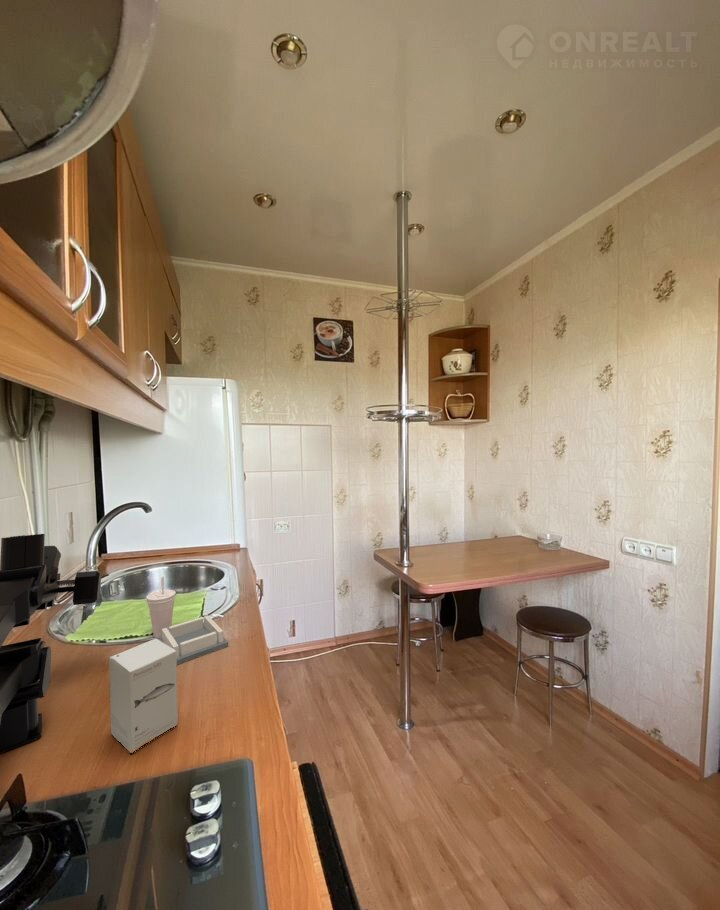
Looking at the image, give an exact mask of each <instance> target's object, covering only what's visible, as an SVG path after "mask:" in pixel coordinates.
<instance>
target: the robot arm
mask: <svg viewBox="0 0 720 910" xmlns="http://www.w3.org/2000/svg"><path fill="white" fill-rule="evenodd" d="M45 537H46V534H45V533H37V534H36V533H35V534H27V535H25V534H24V535H23V534H22V535H14V536H9V537H2V538H0V539H1V540H0V753H1V754H3V753H5V752H4V751H6V752H8V751H10V750H9V749H11V750H13V749H16V748H18V747H21V746H23V745H26V744H29V743H31V742H34V741H35V740H38V739H40V738H41V737H42V735H43V713H41V712H40V713H39V701H38V700H39V699H43V698H45V695H46V693H47V690H48V689H49V686H50V683H51V673H52V672H51V669H52V668H51V667H52V666H51V665H52V648H51V646H50V645H48V646H46V641H45V640H42V637H38V638H33V639H30V640H23V641H19V642H13V643H9V644H4V642H5V641H6V640H7V638H8V636H9V634H10V633H11V631H12V630H13V628H18V627H25V626H28V625H30V621H31V620H30V619H31V617H32V616H33V614H35V613H36V611H41V610H46V609H47V608H52V607H54V606H55V599H56V598H57V596H59V595H58V594H62V593H72V592H73V596H72V604H73V606H77V605H78V606H79V605H86V604H95V603H96V602H98V601H99V600H100V594H101V583H102V572H101V571H100V570H92V571H90V570H89V571H78V572H76V574H75V577H74V579H65V580H64V579H62V580H61V573H59V565H60V559H61V557H62V553H61V552H60V551H59V548H58V547H57V546H56V545H45V543H46V542H45V541H46V539H45ZM67 585H68V586H67ZM7 750H8V751H7ZM2 752H3V753H2Z"/></svg>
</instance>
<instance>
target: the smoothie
mask: <svg viewBox="0 0 720 910" xmlns="http://www.w3.org/2000/svg"><path fill="white" fill-rule="evenodd" d="M160 580H161V581H160V582H161V583H160V584H161V590H156V591H153V592H151V593H149V594H148V595H147V596H146V600H145V601H146V603H147V605H148V609H149V615H150V617H149V618H150V621H151V628H152V633H153V637H154V636H155V637H154V638H157V637H158V638H157V639H160V638H162V629H164V628H167V629H168V631H169V627H170V626H173V615H174V614H173V613H174V607H175V606H174V605H175V598H176V597H177V593H176V591H175V590H173V589H165V578H164V576H161V579H160Z"/></svg>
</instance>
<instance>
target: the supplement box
mask: <svg viewBox="0 0 720 910" xmlns="http://www.w3.org/2000/svg"><path fill="white" fill-rule="evenodd" d="M158 639H159V638H157V637H155V638H153V639H151V640H148V641H146V642H143V643H141V644H139V645H137V646H134V647H131V648H129V649H127V650H124V651H122V652H119V653H117V654H115V655H111V656H109V659H108V661H109V664H108V665H109V691H110V692H109V695H110V697H109V698H110V702H109V703H110V732H111V733H110V734H111V735H112V736H113V738H115V740H116V741H119V742H121V743H122V745H123V746H124V747H126V748H127V749H128V750H129V751H130V752H131V751H133V750H135V749H136V748H138V747H139V746H141V745H142V744H144V743H146V742H147V741H149V740H151V739H153V738H154V737H156V736H158V735H160V734H162V733H163V732H165V731H167V730H168V729H170V728H172V727H174V726H176V725H177V724H178V723H179V716H178V714H179V712H178V711H179V710H178V709H179V708H178V679H177V678H178V669H177V668H178V667H177V666H178V665H177V659H176V650H174V649H173V648H171V647H169V646H168V645H166V644H164V643H163V642H161V641H160V640H158ZM177 726H178V725H177ZM177 726H176V727H177ZM174 728H175V727H174ZM167 732H168V731H167ZM119 742H118V743H119ZM122 745H121V746H122ZM123 746H122V747H123ZM124 747H123V748H124Z"/></svg>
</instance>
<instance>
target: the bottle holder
mask: <svg viewBox="0 0 720 910" xmlns="http://www.w3.org/2000/svg"><path fill="white" fill-rule="evenodd" d="M157 639H158V640H160V641H161V642H163V643H164V644H166V645H168V646H169V647H171V648H173V649H174V650H176V659H177V666H178V665H180V664H183V663H187V662H189V661H193V660H194V659H198V658H200V657H202V656H205V655H208V654H211V653H214V652H216V651H219V650H222V649H224V648H228V647H229V641H228V640H227V639H226V637H224V630H223V629H222V628H221V627H220V626H219V625H218V624H217V623H216V622H215V621H214V620H213V618H211V617H210V616H209V615H208V614H207V615H205V616H203V617H202V616H201V617H198V618H195V619H191V620H187V621H185V622H181V623H177V624H174V625H172V626H170V627H169V631H168V629H167V628H164V629H162V637H160V638H157Z"/></svg>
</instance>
